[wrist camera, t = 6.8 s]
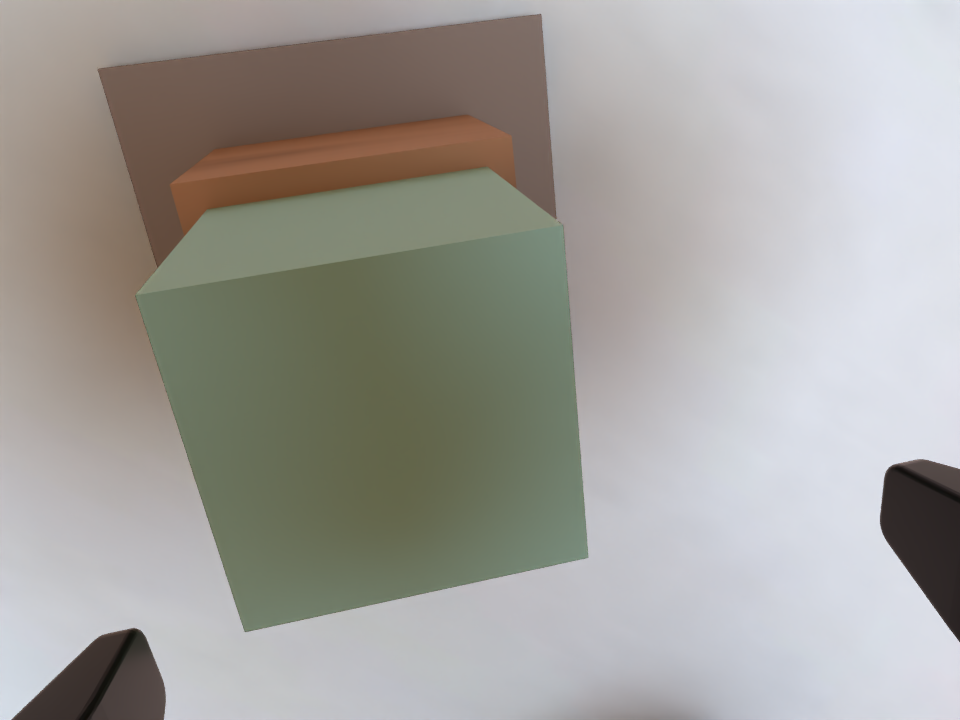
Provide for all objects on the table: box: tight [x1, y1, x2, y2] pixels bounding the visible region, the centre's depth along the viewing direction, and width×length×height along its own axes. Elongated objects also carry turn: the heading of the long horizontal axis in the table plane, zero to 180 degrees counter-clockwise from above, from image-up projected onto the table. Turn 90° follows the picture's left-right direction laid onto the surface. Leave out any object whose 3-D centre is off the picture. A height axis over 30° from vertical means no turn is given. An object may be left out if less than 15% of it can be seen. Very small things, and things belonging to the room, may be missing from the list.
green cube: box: [135, 167, 588, 632], centre depth 12 cm, size 5×5×5 cm
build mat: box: [98, 14, 556, 267], centre depth 19 cm, size 10×10×1 cm
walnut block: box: [170, 114, 517, 236], centre depth 16 cm, size 6×6×5 cm
